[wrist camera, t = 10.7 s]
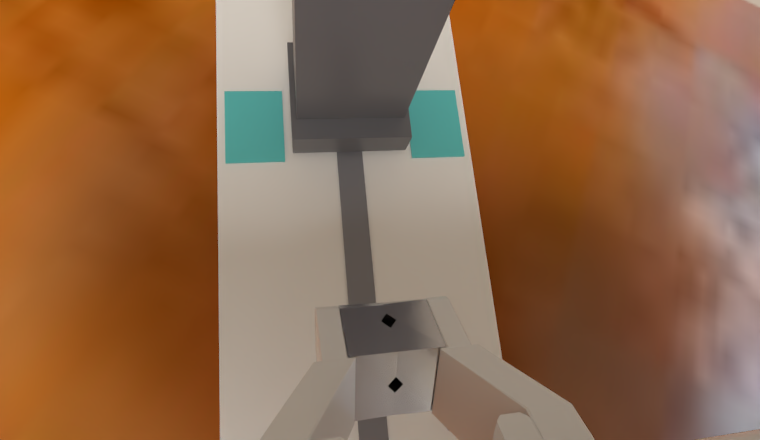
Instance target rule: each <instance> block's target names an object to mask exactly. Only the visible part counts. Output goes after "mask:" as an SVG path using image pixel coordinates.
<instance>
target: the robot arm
mask: <svg viewBox="0 0 760 440" xmlns="http://www.w3.org/2000/svg"><path fill="white" fill-rule="evenodd" d="M315 342H316V362H313V364H312V365H311V367H310V368H309V370H308V371H307V372H306V374H305V375H304V377H303V378H302V380H301V381H300V382H299V384H298V385H297V387H296V388H295V390H294V391H293V393H292V394H291V395H290V397H289V398H288V400H287V401H286V403H285V404H284V406H283V407H282V408H281V410H280V411H279V413H278V414H277V416H276V417H275V418H274V420H273V421H272V423H271V424H270V426H269V427H268V429H267V430H266V431H265V433H264V434H263V436H262V437H261V439H260V440H348V438H349V435H350V433H351V431H352V428H353V426H354V424H355V421H360V420H366V419H372V418H378V417H385V416H391V415H399V414H409V413H419V412H428V411H432V414H433V415H434V416H435V417H436V418H437V419H438V420H439V421H440V422H441V423H442V424H443V425H444V426H445V427H446V428H447V429H448V430H449V431H450V432H451V433H452V434H453V435H454V436H455V437H456V438H457V439H458V440H595V439H594V437H593V436H592V434H591V433H590V431H589V430H588V428H587V427H586V425H585V423H584V422H583V420H582V419H581V417H580V416H579V414H578V413H577V411H576V410H575V408H574V406H573V405H572V404H571V403H570V402H568V401H567V400H565V399H564V398H562V397H560V396H559V395H557V394H556V393H554V392H553V391H551V390H549V389H548V388H546V387H545V386H543V385H541V384H540V383H538V382H537V381H535V380H534V379H532V378H530V377H529V376H527V375H526V374H524V373H523V372H521V371H519V370H518V369H516V368H515V367H513V366H512V365H510V364H508V363H507V362H505V361H504V360H502V359H501V358H499V357H497V356H496V355H494V354H493V353H491V352H490V351H488V350H486V349H485V348H483V347H482V346H480V345H479V344H474V345H472V344H471V342H470V340H469V338H468V336H467V334H466V332H465V330H464V328H463V326H462V324H461V322H460V320H459V318H458V316H457V314H456V312H455V310H454V308H453V306H452V304H451V302H450V300H449V298H448V297H446V296H438V297H430V298H424V299H415V300H405V301H394V302H384V303H368V304H353V305H338V306H328V307H315ZM696 440H760V429H758V430H752V431H746V432H740V433H733V434H727V435H721V436H715V437H708V438H702V439H696Z"/></svg>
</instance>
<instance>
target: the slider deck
mask: <svg viewBox="0 0 760 440" xmlns="http://www.w3.org/2000/svg"><path fill="white" fill-rule="evenodd" d="M287 42H293V25H292V0H216V70H217V177H218V284H219V390H220V440H260V439H261V437H262V436H263V434H264V433H265V431H266V430H267V429H268V427H269V426H270V424H271V423H272V421H273V420H274V418H275V417H276V416H277V414H278V413H279V411H280V410H281V408H282V407H283V406H284V404H285V403H286V401H287V400H288V398H289V397H290V395H291V394H292V393H293V391H294V390H295V388H296V387H297V385H298V384H299V382H300V381H301V380H302V378H303V377H304V375H305V374H306V372H307V371H308V370H309V368H310V367H311V365H312V364H313V362H316V342H315V307H328V306H338V305H353V304H368V303H384V302H394V301H405V300H415V299H424V298H430V297H438V296H446V297H448V298H449V300H450V302H451V304H452V306H453V308H454V310H455V312H456V314H457V316H458V318H459V320H460V322H461V324H462V326H463V328H464V330H465V332H466V334H467V336H468V338H469V340H470V342H471V344H472V345H474V344H479V345H480V346H482V347H483V348H485V349H486V350H488V351H490V352H491V353H493V354H494V355H496V356H497V357H499V358H501V359H502V354H501V347H500V341H499V334H498V328H497V321H496V315H495V308H494V302H493V296H492V289H491V283H490V276H489V270H488V263H487V257H486V250H485V244H484V237H483V231H482V224H481V218H480V211H479V205H478V198H477V192H476V185H475V179H474V172H473V166H472V159H471V153H470V147H469V140H468V134H467V127H466V121H465V114H464V108H463V101H462V95H461V88H460V82H459V75H458V69H457V62H456V56H455V49H454V43H453V36H452V30H451V23H450V17H449V15H448V18H447V20H446V22H445V25H444V27H443V29H442V32H441V34H440V36H439V39H438V41H437V43H436V46H435V48H434V50H433V53H432V55H431V57H430V60H429V62H428V64H427V66H426V69H425V71H424V73H423V76H422V78H421V80H420V83H419V85H418V87H417V90H416V92H415V94H414V97H413V99H412V101H411V104H410V106H409V116H410V124H411V132H412V138H411V140H410V142H409V144H408V146H407V148H406V150H392V151H354V152H316V153H293V149H292V130H291V110H290V91H289V72H288V52H287ZM348 440H458V439H457V438H456V437H455V436H454V435H453V434H452V433H451V432H450V431H449V430H448V429H447V428H446V427H445V426H444V425H443V424H442V423H441V422H440V421H439V420H438V419H437V418H436V417H435V416H434V415H433V414H432V411H428V412H419V413H409V414H399V415H391V416H385V417H378V418H372V419H366V420H360V421H355V424H354V426H353V428H352V431H351V433H350V435H349V438H348Z"/></svg>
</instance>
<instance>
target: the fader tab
mask: <svg viewBox="0 0 760 440" xmlns="http://www.w3.org/2000/svg"><path fill="white" fill-rule="evenodd" d="M454 1H455V0H292V25H293V42H287V52H288V72H289V91H290V110H291V130H292V149H293V153H316V152H354V151H392V150H406V148H407V146H408V144H409V142H410V140H411V138H412V132H411V124H410V116H409V106H410V104H411V101H412V99H413V97H414V94H415V92H416V90H417V87H418V85H419V83H420V80H421V78H422V76H423V73H424V71H425V69H426V66H427V64H428V62H429V60H430V57H431V55H432V53H433V50H434V48H435V46H436V43H437V41H438V39H439V36H440V34H441V32H442V29H443V27H444V25H445V22H446V20H447V18H448V15H449V13H450V11H451V8H452V6H453V4H454Z"/></svg>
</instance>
